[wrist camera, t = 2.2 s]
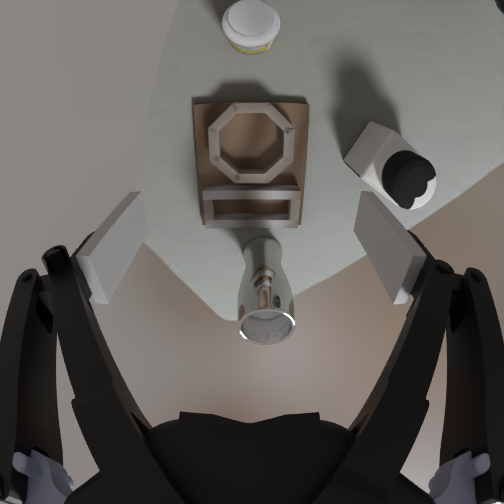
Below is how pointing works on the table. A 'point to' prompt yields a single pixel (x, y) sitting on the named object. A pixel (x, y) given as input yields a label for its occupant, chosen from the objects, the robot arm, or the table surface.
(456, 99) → the table surface
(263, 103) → the socket board
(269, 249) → the beer glass
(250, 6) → the supplement bottle
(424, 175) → the medicine bottle
